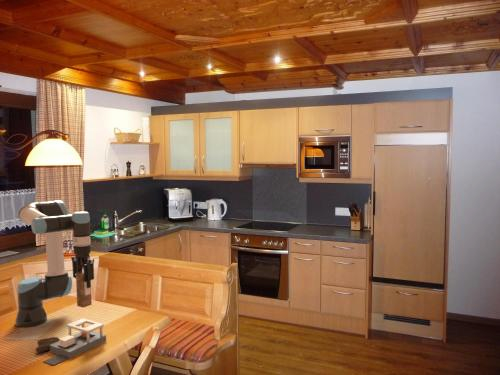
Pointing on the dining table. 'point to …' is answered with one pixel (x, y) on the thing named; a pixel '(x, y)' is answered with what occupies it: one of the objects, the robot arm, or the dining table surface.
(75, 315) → the dining table surface
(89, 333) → the plunger
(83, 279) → the brown rectangular block
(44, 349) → the rock
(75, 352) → the two-tier post stand
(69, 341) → the on button
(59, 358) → the pad
